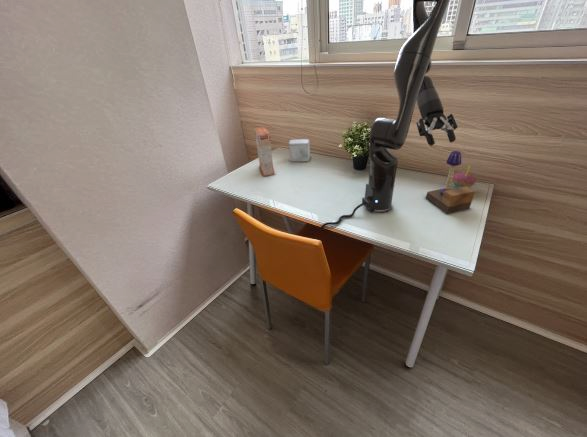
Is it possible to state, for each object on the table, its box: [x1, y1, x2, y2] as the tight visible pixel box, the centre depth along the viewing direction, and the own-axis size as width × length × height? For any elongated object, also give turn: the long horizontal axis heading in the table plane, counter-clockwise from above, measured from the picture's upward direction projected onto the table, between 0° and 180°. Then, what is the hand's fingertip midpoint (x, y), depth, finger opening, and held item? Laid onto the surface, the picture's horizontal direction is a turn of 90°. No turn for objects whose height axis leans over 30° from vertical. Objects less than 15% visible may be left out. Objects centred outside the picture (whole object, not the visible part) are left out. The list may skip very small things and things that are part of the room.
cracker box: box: [253, 126, 275, 177], centre depth 137 cm, size 14×6×21 cm, turn 13°
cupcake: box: [451, 164, 477, 189], centre depth 108 cm, size 9×8×12 cm
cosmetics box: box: [288, 138, 311, 162], centre depth 148 cm, size 10×6×10 cm, turn 81°
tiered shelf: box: [425, 186, 476, 215], centre depth 102 cm, size 10×12×8 cm
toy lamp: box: [440, 150, 462, 195], centre depth 99 cm, size 5×5×17 cm
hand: (442, 143), depth 100 cm, fingers open, 8 cm apart
